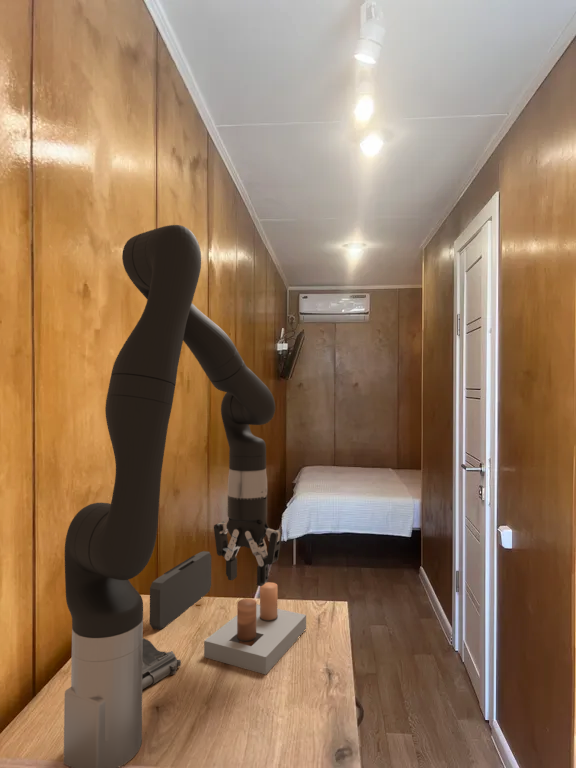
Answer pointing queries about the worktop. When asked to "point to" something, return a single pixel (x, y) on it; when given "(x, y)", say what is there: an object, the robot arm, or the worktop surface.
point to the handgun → (156, 664)
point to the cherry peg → (246, 621)
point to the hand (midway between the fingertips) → (246, 581)
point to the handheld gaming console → (179, 589)
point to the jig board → (258, 635)
